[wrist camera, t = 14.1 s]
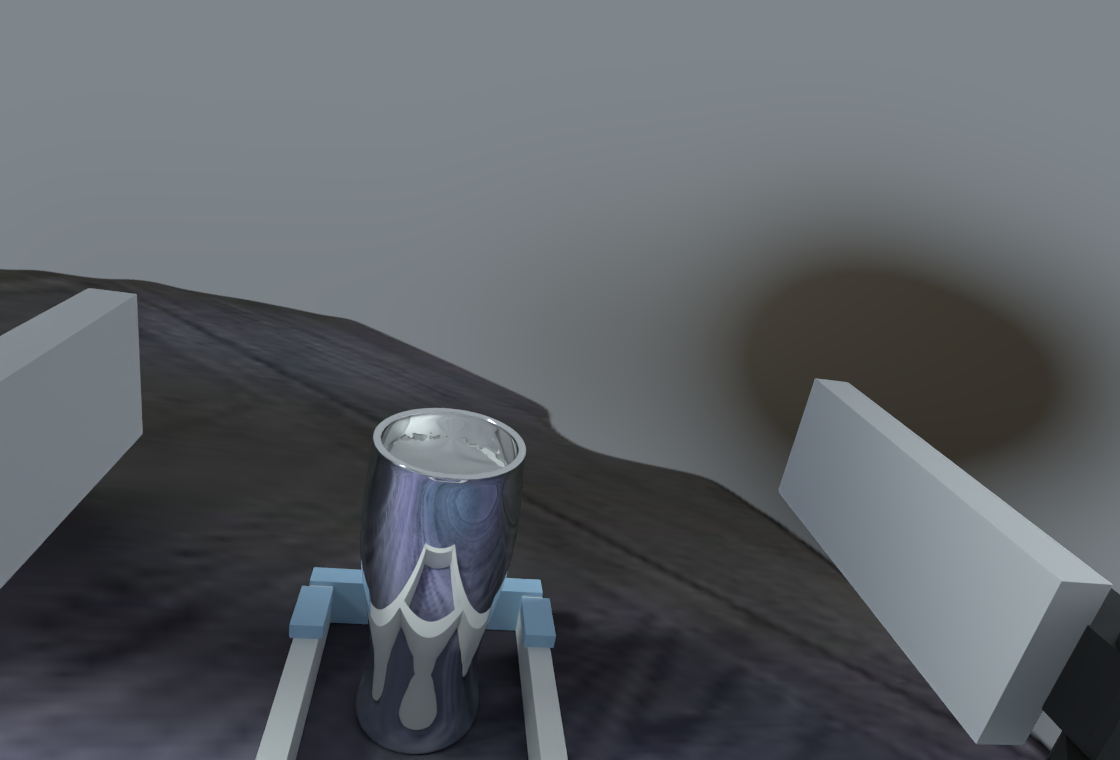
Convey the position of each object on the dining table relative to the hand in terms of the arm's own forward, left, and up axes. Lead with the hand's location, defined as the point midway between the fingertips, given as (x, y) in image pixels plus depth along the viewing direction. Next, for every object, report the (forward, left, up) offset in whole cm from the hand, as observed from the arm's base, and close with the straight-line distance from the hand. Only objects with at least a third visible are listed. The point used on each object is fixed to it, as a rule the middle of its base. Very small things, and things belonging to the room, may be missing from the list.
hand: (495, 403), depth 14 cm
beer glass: (-13, +7, -23) cm, 28 cm away
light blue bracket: (-17, +9, -23) cm, 30 cm away
